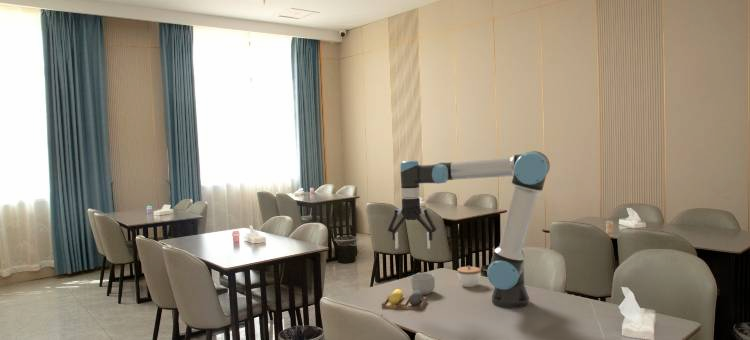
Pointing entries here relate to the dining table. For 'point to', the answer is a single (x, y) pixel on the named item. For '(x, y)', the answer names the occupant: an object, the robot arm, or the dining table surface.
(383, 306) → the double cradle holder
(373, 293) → the dining table surface
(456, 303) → the dining table surface
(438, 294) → the dining table surface
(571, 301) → the dining table surface
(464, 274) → the lidded jar
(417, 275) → the teacup
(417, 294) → the gray cylinder
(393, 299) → the yellow foam roll
